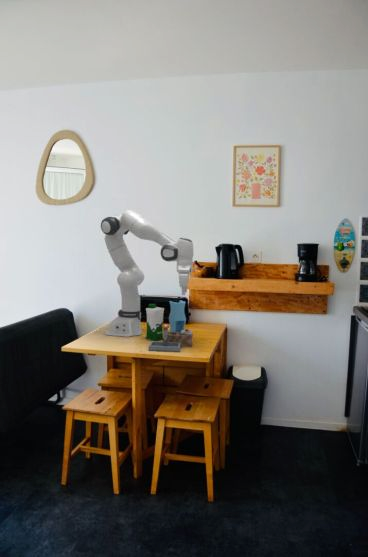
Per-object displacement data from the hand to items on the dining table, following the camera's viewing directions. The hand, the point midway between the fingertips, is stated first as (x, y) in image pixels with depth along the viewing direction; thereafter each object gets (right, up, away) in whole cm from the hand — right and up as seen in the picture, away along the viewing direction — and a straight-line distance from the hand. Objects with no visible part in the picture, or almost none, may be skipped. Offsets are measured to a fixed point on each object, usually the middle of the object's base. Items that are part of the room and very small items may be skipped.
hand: (184, 293), depth 223 cm
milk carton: (-17, -27, +14) cm, 35 cm away
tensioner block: (-3, -28, +3) cm, 28 cm away
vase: (-4, -26, +27) cm, 38 cm away
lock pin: (-10, -28, -7) cm, 31 cm away
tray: (-10, -29, -7) cm, 31 cm away
